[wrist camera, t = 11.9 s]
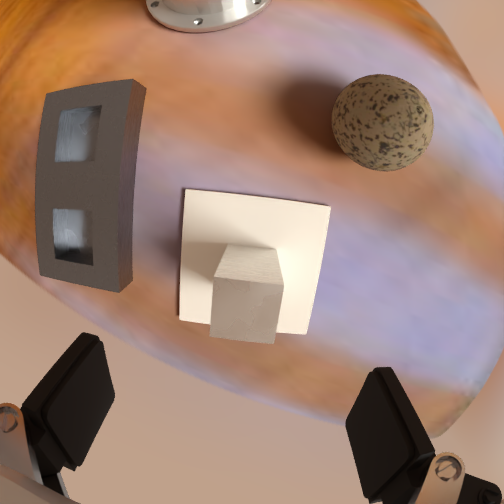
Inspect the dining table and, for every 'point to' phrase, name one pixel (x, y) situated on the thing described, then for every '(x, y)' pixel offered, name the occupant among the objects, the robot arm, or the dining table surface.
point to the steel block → (247, 294)
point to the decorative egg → (382, 122)
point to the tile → (251, 234)
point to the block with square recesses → (88, 183)
